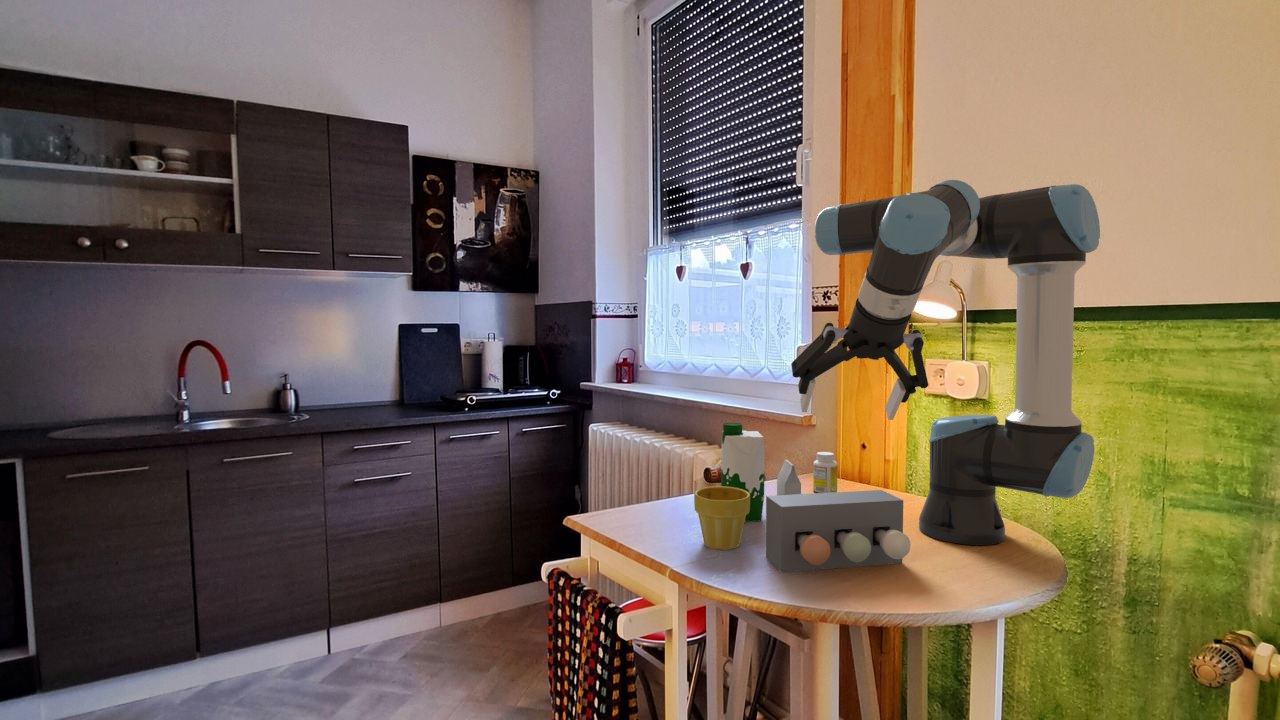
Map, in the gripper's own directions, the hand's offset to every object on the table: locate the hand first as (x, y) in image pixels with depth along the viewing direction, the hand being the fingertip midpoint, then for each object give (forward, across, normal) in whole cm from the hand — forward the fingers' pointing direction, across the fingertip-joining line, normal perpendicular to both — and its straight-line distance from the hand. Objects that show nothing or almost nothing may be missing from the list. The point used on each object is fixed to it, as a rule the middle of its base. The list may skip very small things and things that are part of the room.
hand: (845, 409), depth 104 cm
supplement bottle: (+53, +12, +23) cm, 59 cm away
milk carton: (+43, -10, +8) cm, 45 cm away
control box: (+26, +3, -11) cm, 28 cm away
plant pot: (+32, -16, -6) cm, 37 cm away
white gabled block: (+48, +1, +15) cm, 50 cm away
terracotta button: (+20, -3, -15) cm, 25 cm away
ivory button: (+21, +10, -12) cm, 26 cm away
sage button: (+20, +4, -14) cm, 25 cm away
